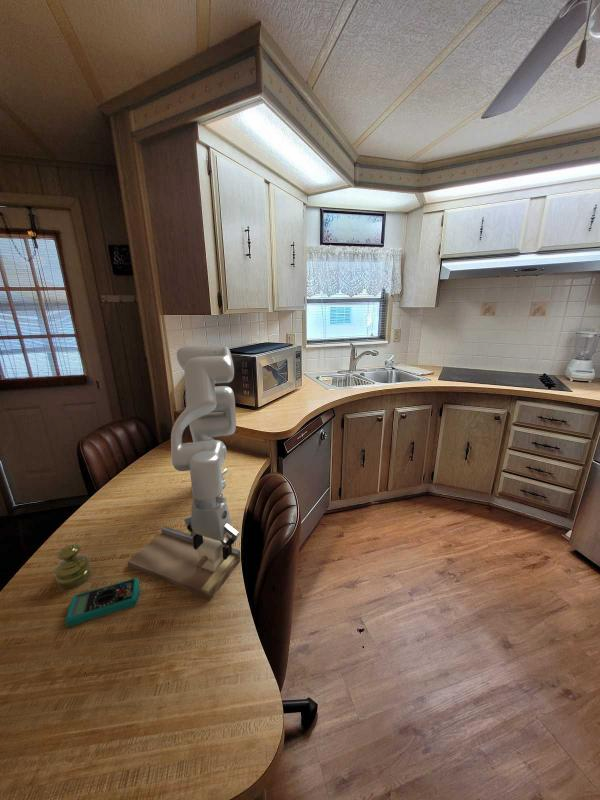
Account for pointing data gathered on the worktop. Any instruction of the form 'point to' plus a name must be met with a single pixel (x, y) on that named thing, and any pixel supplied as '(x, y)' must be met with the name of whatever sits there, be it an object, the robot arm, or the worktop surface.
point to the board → (181, 563)
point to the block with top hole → (210, 555)
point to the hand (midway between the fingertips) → (212, 550)
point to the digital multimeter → (102, 601)
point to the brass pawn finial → (72, 567)
